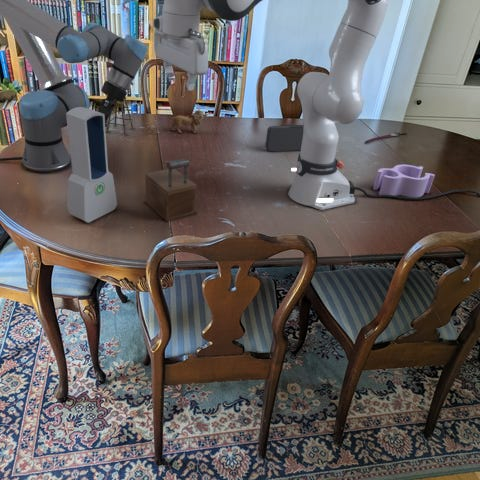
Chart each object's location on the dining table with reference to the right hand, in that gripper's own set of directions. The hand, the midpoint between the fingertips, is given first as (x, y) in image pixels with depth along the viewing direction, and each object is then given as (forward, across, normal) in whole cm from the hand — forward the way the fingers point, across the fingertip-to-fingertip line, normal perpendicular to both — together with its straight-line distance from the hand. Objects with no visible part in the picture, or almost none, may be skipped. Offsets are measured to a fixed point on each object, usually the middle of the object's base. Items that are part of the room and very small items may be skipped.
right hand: (179, 84), depth 119 cm
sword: (+38, +15, -120) cm, 126 cm away
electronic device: (+38, +12, +21) cm, 45 cm away
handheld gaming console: (+38, +23, -68) cm, 81 cm away
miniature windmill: (+38, +70, -14) cm, 81 cm away
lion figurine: (+38, +58, -39) cm, 80 cm away
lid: (+29, +4, 0) cm, 30 cm away
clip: (+38, -22, -79) cm, 91 cm away
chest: (+38, +4, 0) cm, 38 cm away
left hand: (+28, +38, +11) cm, 49 cm away
